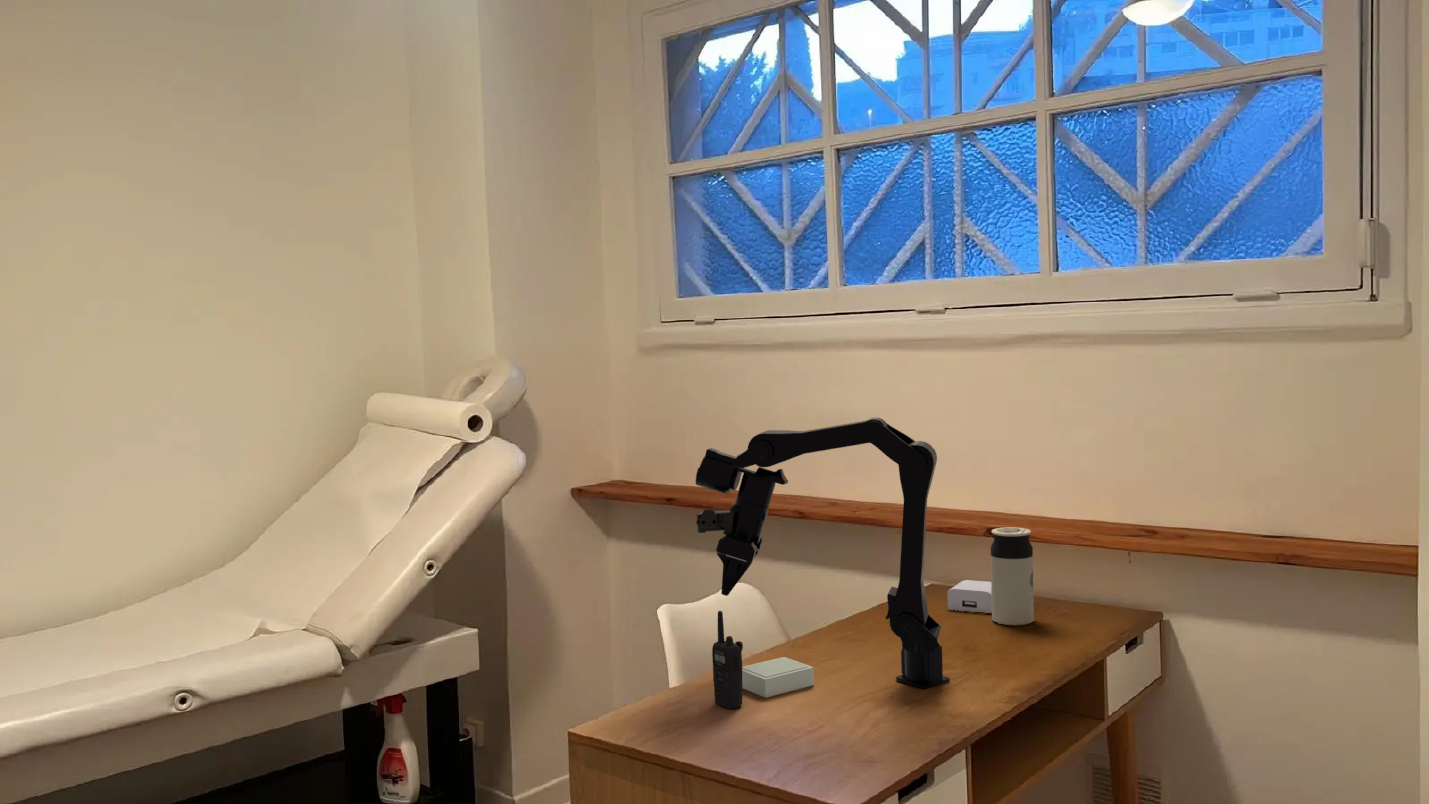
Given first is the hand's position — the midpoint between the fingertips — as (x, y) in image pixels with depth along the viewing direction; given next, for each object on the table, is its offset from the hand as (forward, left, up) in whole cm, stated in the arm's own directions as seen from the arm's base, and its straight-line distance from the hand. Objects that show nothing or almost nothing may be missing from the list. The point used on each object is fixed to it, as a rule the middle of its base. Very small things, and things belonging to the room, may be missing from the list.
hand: (727, 590), depth 198 cm
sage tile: (-9, -3, -15) cm, 18 cm away
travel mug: (-7, -63, -15) cm, 65 cm away
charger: (+6, -68, -15) cm, 70 cm away
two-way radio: (-12, +8, -15) cm, 21 cm away
